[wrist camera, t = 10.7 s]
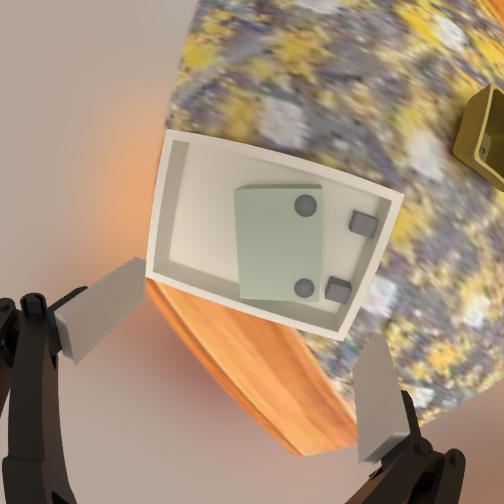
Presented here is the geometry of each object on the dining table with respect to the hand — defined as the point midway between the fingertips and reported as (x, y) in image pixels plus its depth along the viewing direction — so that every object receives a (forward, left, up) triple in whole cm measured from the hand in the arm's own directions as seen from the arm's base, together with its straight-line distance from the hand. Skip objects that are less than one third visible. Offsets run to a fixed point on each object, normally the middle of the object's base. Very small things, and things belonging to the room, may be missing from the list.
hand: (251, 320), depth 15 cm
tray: (0, -2, -18) cm, 19 cm away
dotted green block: (0, 0, -17) cm, 17 cm away
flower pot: (-18, +19, -19) cm, 32 cm away
